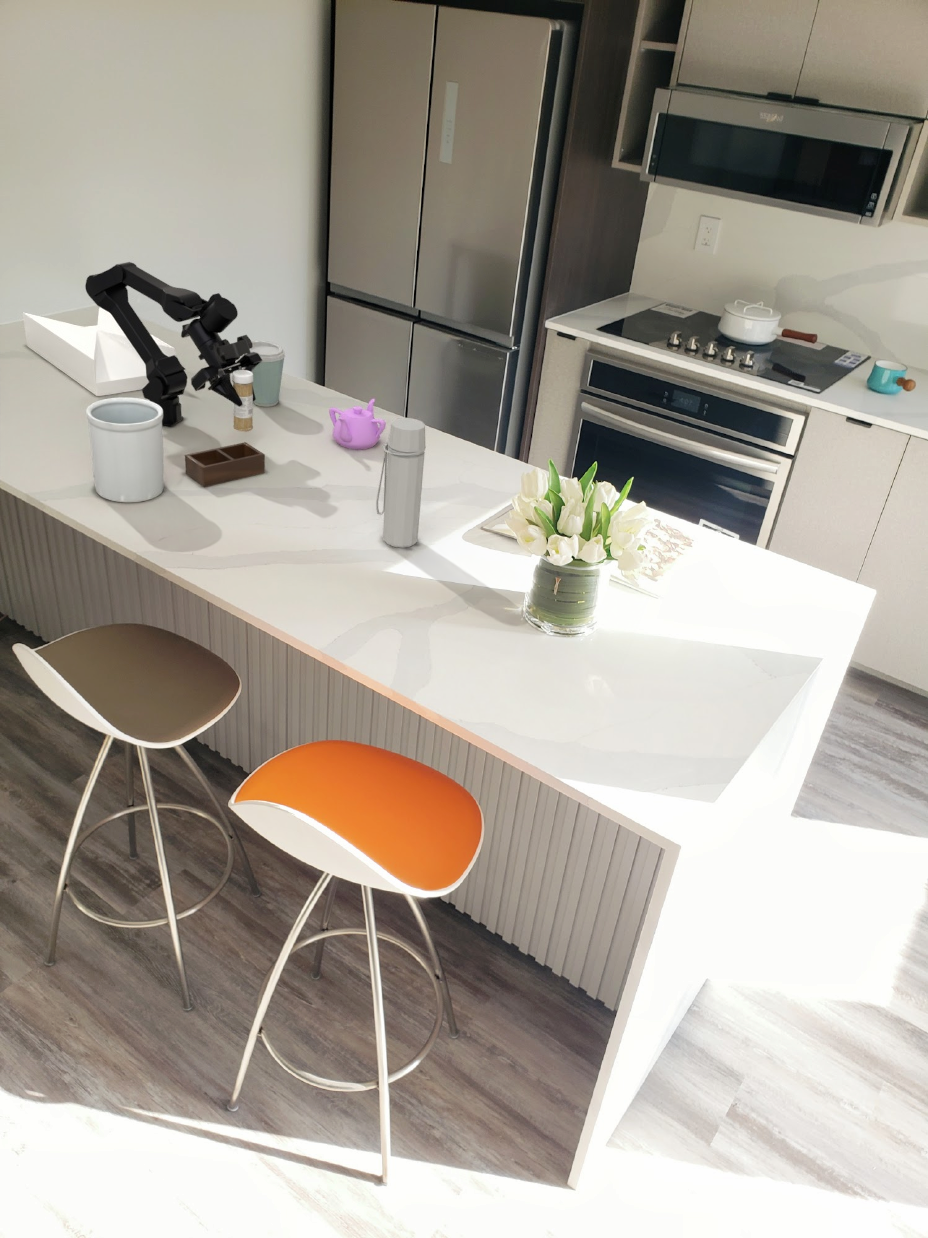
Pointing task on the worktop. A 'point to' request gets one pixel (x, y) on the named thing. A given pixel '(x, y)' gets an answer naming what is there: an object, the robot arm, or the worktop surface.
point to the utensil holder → (126, 448)
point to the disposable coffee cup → (267, 373)
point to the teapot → (357, 427)
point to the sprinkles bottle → (243, 400)
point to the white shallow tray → (91, 352)
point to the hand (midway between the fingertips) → (247, 403)
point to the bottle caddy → (224, 464)
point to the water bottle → (403, 482)
